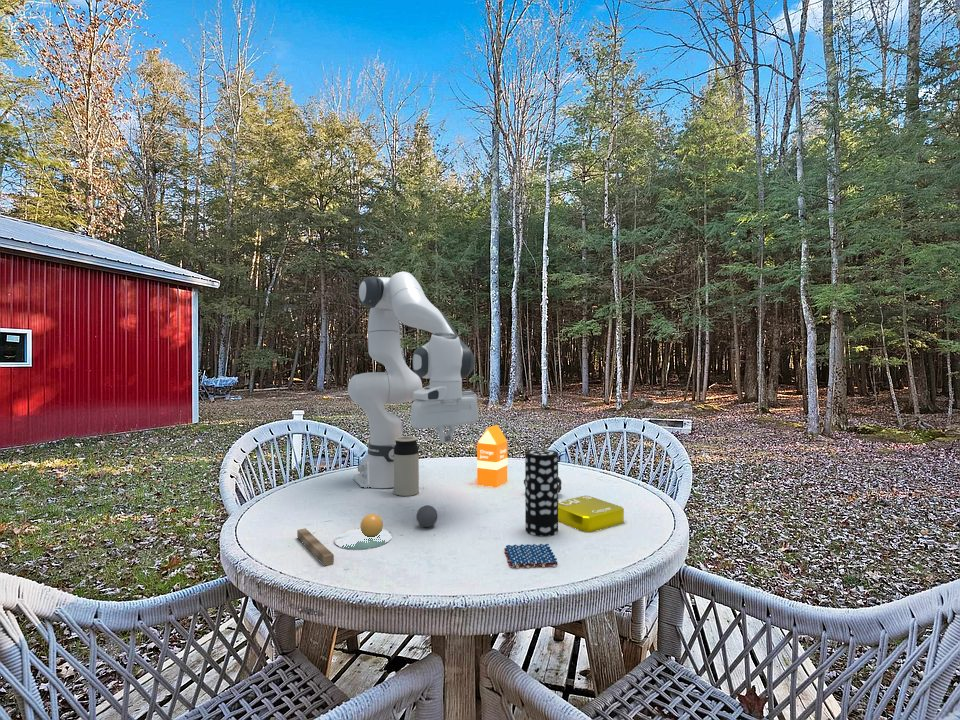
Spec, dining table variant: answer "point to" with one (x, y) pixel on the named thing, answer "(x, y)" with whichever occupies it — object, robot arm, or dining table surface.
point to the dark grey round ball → (427, 516)
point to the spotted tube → (541, 492)
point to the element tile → (589, 513)
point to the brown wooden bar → (315, 547)
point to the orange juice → (492, 458)
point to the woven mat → (530, 556)
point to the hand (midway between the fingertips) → (446, 442)
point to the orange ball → (371, 525)
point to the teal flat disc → (365, 544)
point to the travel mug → (406, 466)
